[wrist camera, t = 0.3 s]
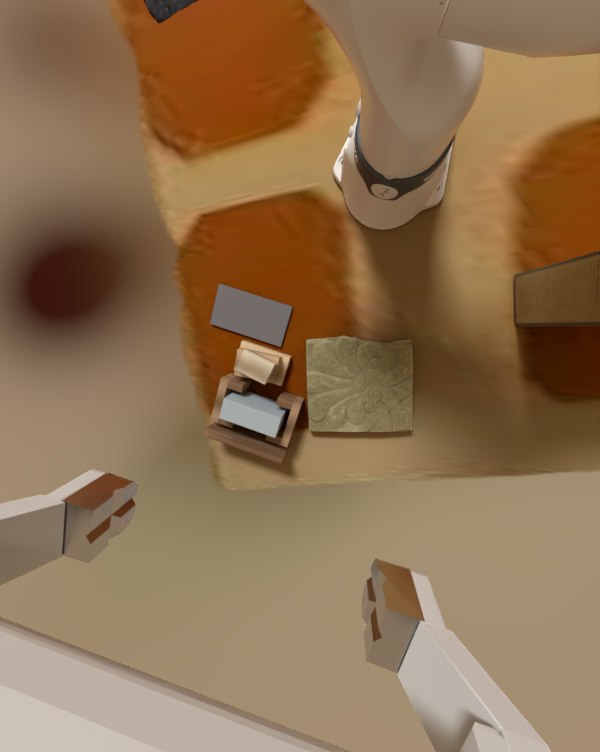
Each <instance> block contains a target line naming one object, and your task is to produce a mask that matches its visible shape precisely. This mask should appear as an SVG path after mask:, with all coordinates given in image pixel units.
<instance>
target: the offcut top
mask: <svg viewBox="0 0 600 752" xmlns="http://www.w3.org/2000/svg"><path fill="white" fill-rule="evenodd" d="M276 364H277V363H275V362H273V361H272V360H270V359H268V358H266V357H264V356H262V355H260V354H258V353H256V352H254V351H252V350H250V349H245V350H244V351H243V353H242V355H241V358H240V360H239V362H238V364H237V366H236V369H235V370H237V371H239V372H241V373H243V374H245V375H247V376H249V377H251V378H252V379H254V380H256V381H258V382H260V383H262V384H264V385H265V384H266V383H267V382H268V381H269V379H270V377H271V375H272V373H273V371H274V368H275V366H276Z"/></svg>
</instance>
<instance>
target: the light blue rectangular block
mask: <svg viewBox="0 0 600 752" xmlns="http://www.w3.org/2000/svg"><path fill="white" fill-rule="evenodd" d="M276 403H277V401H275V400H272V399H270V398H267V397H264V396H261V395H258V394H255V393H252V392H249V391H246V390H244V391H243V392H238V391H234V392H233V393H231V394H230V395H228V396H226V397H225V398H224V400H223V404H222V408H221V412H220V416H219V418H220V419H223V420H226V421H229V422H232V423H235V424H237V425H240V426H243V427H246V428H249V429H251V430H254V431H257V432H260V433H263V434H265V435H268V436H271V437H274V438H275V437H276V435H277V434H278V432H279V430H280V428H281V427H282V425H283V423H284V420H285V417H286V414H287V411H288V409H287V408H284V407H281V406H278V405H276Z"/></svg>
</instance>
